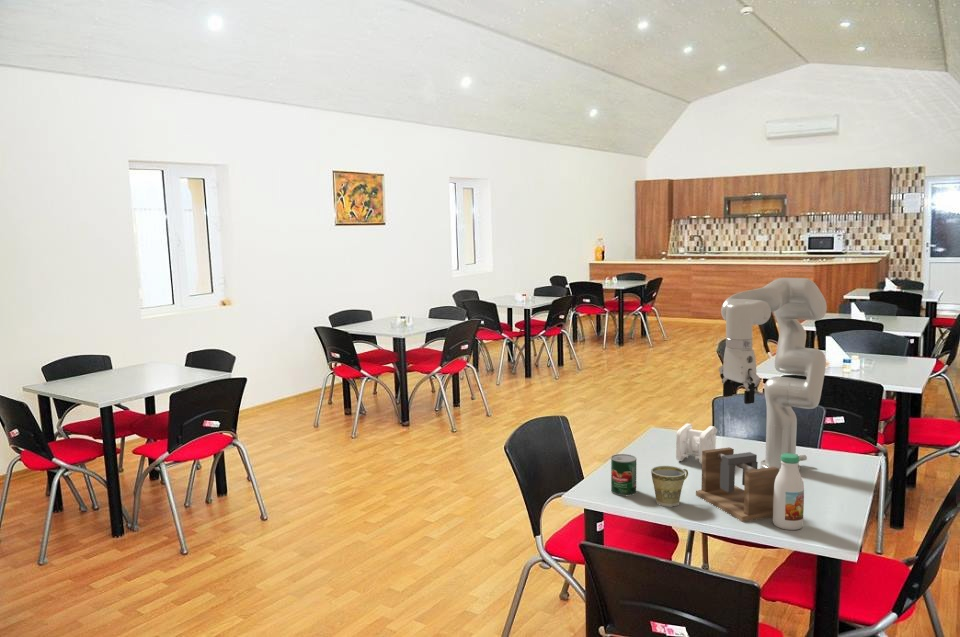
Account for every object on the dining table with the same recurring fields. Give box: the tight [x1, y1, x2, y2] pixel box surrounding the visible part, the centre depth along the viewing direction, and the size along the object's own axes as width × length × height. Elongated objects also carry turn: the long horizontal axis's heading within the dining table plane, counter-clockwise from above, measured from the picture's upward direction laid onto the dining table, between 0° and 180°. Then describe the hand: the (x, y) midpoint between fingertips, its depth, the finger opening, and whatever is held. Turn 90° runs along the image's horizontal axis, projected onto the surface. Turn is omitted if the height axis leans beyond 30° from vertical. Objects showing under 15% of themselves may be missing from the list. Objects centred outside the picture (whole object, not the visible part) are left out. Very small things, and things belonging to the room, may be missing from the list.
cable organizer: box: [675, 422, 718, 465], centre depth 258 cm, size 15×11×12 cm
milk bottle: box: [772, 453, 805, 531], centre depth 199 cm, size 8×8×20 cm
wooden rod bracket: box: [695, 446, 779, 523], centre depth 215 cm, size 22×14×14 cm, turn 18°
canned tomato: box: [610, 453, 637, 497], centre depth 228 cm, size 8×8×11 cm
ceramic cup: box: [650, 465, 689, 507], centre depth 219 cm, size 13×10×10 cm
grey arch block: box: [720, 451, 759, 492], centre depth 214 cm, size 10×4×10 cm, turn 109°
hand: (738, 399), depth 219 cm, fingers open, 9 cm apart
